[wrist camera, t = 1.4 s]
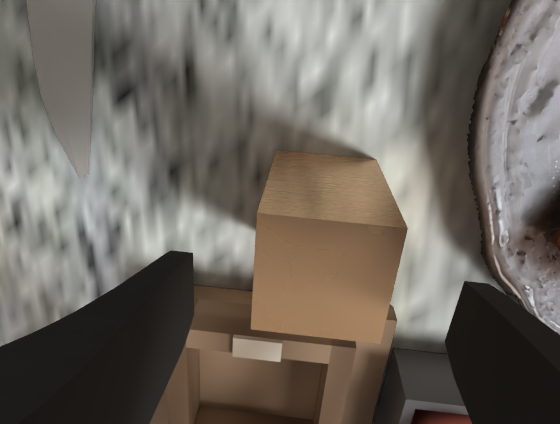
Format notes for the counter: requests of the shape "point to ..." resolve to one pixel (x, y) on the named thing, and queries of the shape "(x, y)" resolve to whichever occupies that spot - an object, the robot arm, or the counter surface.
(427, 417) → the button
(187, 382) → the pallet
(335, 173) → the block
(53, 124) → the kitchen knife
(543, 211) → the food plate
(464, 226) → the counter surface
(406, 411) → the button housing
